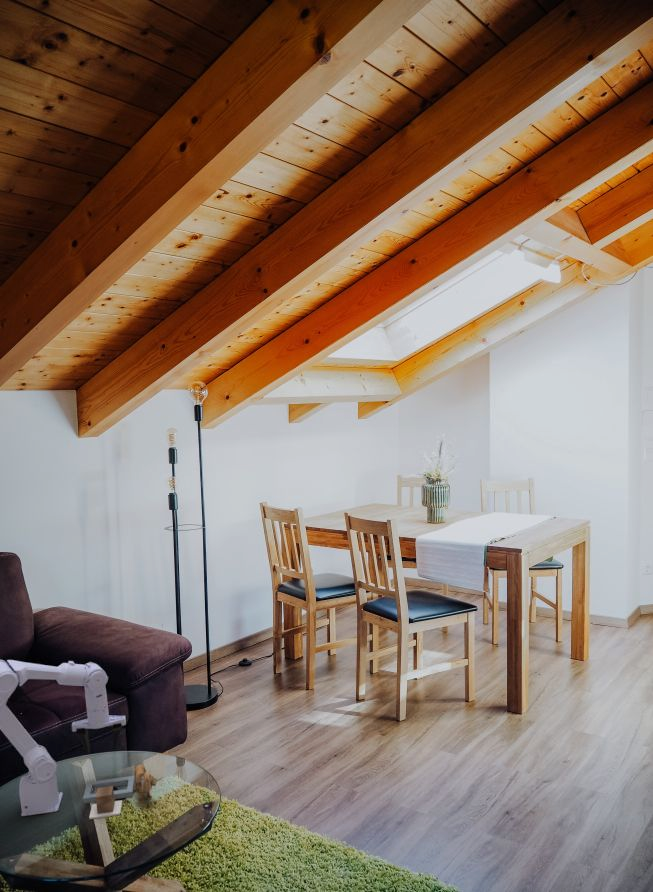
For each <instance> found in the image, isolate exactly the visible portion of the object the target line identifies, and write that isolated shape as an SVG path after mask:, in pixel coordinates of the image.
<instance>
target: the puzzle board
mask: <svg viewBox="0 0 653 892" xmlns="http://www.w3.org/2000/svg"><path fill="white" fill-rule="evenodd" d="M108 786H113V788H114V787H119V786H126V787H127V788H125V789H118V790H113V791H114V800H117V799H119V800H120V799H125V798H133V797H134V788H135V778H134V775H129V776H121V777H115V778H114V777H113V778H108V779H107V778H106V779H99V780H92V781H87V782H86V786H85V789H84V794H83V797H82V801H83V802H82V803H83V804H90V803H96V794H97V792H95V793H93V791H92V789H93V790H97V789H98V788H101V787H108ZM95 788H97V789H95Z"/></svg>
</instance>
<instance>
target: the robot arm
mask: <svg viewBox="0 0 653 892" xmlns="http://www.w3.org/2000/svg"><path fill="white" fill-rule="evenodd" d="M107 675H108V674H107V673H106V671H105V670H104V669H103V668H102V667H101V666H100V665H99V664H97V663H95V662H92V661H89V662H87V663H85V664H81V663H79V664H78V663H75V662H74V660H68V662H62V663H61V664H60V665H58V666H54V665H45V664H41V663H33V662H25V661H20V660H14V659H7V660H6V661H5V660H3V659H0V731H1V732H2V733H3V735H4V736H5V737H6V738H7V740H8V741H9V742H10V743H11V744H12V746H14V748H15V749H16V750H17V751H18V753H19V754H20V756H21V757H22V758H23V763H24V765H25V766H26V767H27V768H28V772H27V775H24V776H21V778H20V781H19V786H18V787H19V788H18V789H19V790H18V791H19V792H18V794H19V801H20V807H21V808H20V809H21V814H20V815H21V817H26V816H33V815H40V814H49V813H54V812H57V811H59V809H60V804H61V802H62V799H63V795H64V792H61V791H60V792H59V788H58V779H57V771H58V765H57V762H56V760H54V758H52V756H51V755H50V753H49V752H48V750H47V749H46V747H45V746H43V745H40V744H38V743H37V742H36V740H34V738H33V737H32V735H30V734H29V732H28V731H27V729H25V728H24V726H23V725H22V724H21V722H20V721H19V720H18V718H17V717H16V716H15V714H14V713H13V712H12V711H11V710H10V708H9V707H8V706H7V702H8V699H10V697H11V695H12V694H13V693H14V692H15V690H16V688H17V687H18V686H19V687H22V686H23V685H24V684H25V683H26V682H28V680H54V681H55V680H56V682H57V683H58V684H59V685H60V686H61V685H63V686H76V687H84V698H85V706H86V707H85V708H86V716H87V718H85V719H81V720H76V721H73V722H72V723H71V731H72V732H73V733H74V732H75V735H76V738H77V739H78V740H79V741H80V743H81V745H82V746H83V748H84V750H85V751H84V752H85V754H86V755H89V754H90V751H91V746H90V741H89V729H92V730H97V729H102V728H105V727H112V728H111V734H112V739H113V751H117V750H118V748H119V747H118V742H119V741H118V740H119V736H120V734H121V731H122V726H126V724H127V723H126V722H127V721H126V715H111V714H110V713H109V704H108V695H107V688H106V685H107V683H108V680H109V675H108V676H107ZM109 714H110V715H109Z"/></svg>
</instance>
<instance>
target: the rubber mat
mask: <svg viewBox="0 0 653 892" xmlns="http://www.w3.org/2000/svg"><path fill="white" fill-rule="evenodd" d="M122 806H123V799H122V800H120V799H119V800H115V804H114V809H113V812H107V813H100V814H98V813H97V804H96V803H94V804H91V808H90V812H89V820H95V819H101V818H108V817H115V816H120V815H121V812H122V808H123V807H122Z"/></svg>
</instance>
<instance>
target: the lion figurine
mask: <svg viewBox="0 0 653 892" xmlns="http://www.w3.org/2000/svg"><path fill="white" fill-rule="evenodd" d="M133 773H134V774H133V776H134V778H135V786H134V791H135V792H136V793H137V798H138V801H137V802H138V804H141V803H143V801H144V798H143V796H142V795H146V796H145V797H146V798H147V799H148V800H150V799H152V798H153V796H152V795H151V794H150V793H151V790H153V789H152V788H153V787H156V786H157V785H156V784H157V782H158V778H155V777H154V776H153V775H152V774H151V772H149V771H147V770H146V767H145V765H144V764H140V763H139V764H138V765H136V766H135V769H134V772H133Z"/></svg>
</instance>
